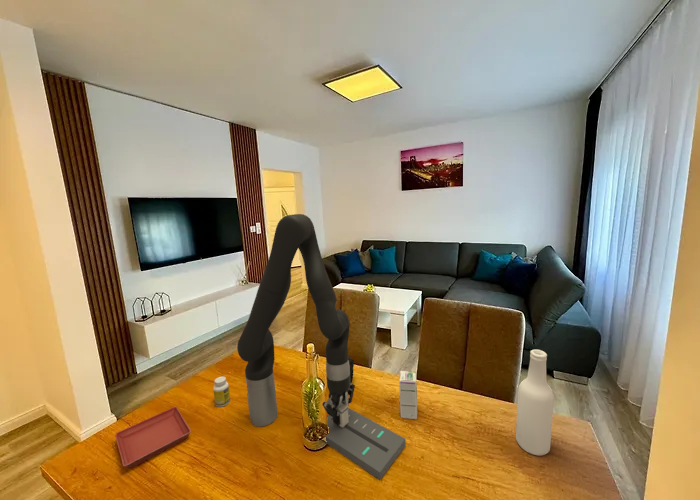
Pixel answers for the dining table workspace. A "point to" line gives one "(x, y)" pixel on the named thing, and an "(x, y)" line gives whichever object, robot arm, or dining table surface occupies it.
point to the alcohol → (535, 407)
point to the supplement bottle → (221, 392)
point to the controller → (351, 368)
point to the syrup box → (408, 394)
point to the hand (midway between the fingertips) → (340, 420)
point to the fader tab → (343, 415)
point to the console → (365, 443)
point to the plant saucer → (151, 436)
